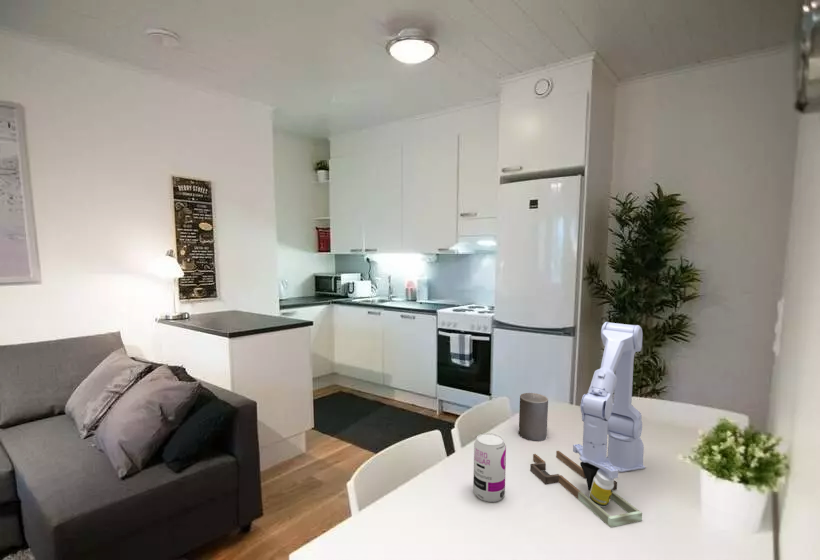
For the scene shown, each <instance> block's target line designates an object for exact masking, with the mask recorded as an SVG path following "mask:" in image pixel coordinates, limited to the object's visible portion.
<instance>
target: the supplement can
mask: <svg viewBox="0 0 820 560" xmlns="http://www.w3.org/2000/svg"><path fill="white" fill-rule="evenodd" d="M506 460H507V445H506V443H505V441H504V438H503V437H502V436H500V435H499V434H498V435H497V434H496V433H486V432H485V433H481V434H478V435H477V436H476V439H475V440H474V443H473V483H472V484H473V486H472V488H473V489H472V490H473V493H474V495H475V496H476V497H477V498H478V499H480V500H481V501H484V502H488V503H497V502H500V501H501V500H502V499H503V498H504V497H505V496H506V465H507V464H506V463H507V461H506Z"/></svg>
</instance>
